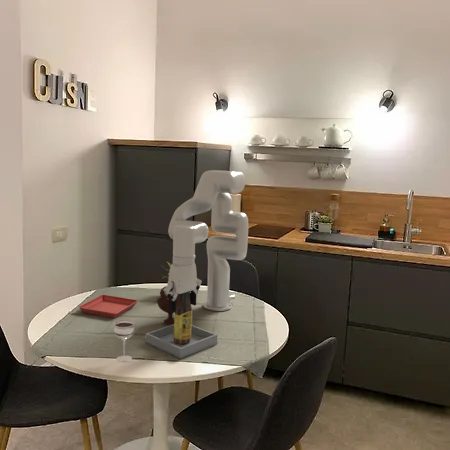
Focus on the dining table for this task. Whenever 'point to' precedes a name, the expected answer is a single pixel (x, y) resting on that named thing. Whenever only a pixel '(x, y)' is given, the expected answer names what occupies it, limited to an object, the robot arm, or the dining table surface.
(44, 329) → the dining table surface
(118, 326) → the wineglass
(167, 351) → the parts tray
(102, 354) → the dining table surface
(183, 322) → the sauce bottle
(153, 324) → the dining table surface
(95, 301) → the red square tray
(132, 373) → the dining table surface
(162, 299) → the ice cream bowl
